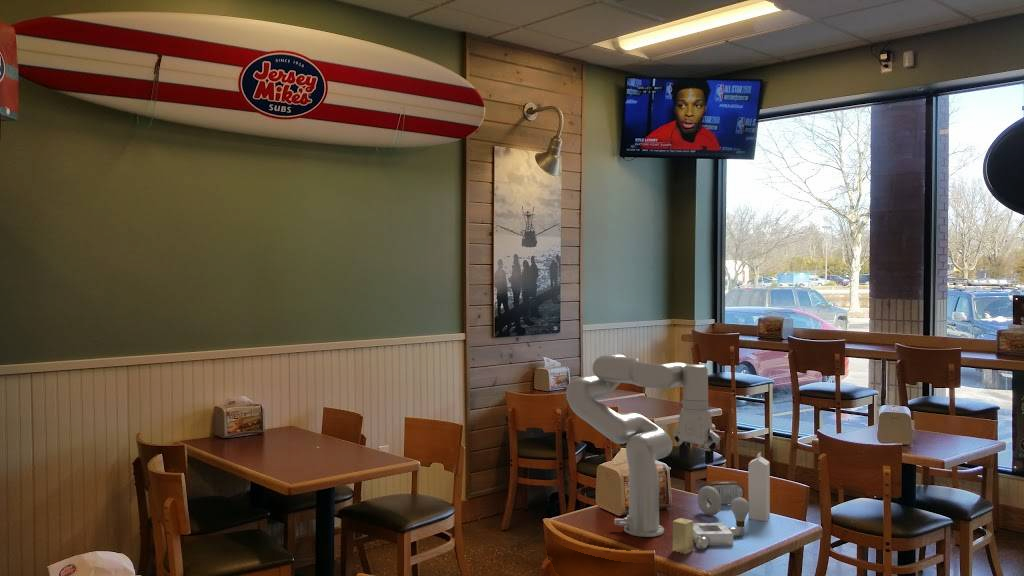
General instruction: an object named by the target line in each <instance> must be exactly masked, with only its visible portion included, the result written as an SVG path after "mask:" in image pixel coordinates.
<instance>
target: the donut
mask: <svg viewBox="0 0 1024 576" xmlns="http://www.w3.org/2000/svg"><path fill="white" fill-rule="evenodd" d="M708 496H709V497H710V499H711V504H710V503H708V501H707V497H708ZM696 499H697V503H698V507H699V509H700V510H701V512H702V513H703V514H705V515H707V516H712V517H713V516H715V515H717V514H718V513H719V512H720V511H721V509H722V508H721V507H722V505H721V498H720V495H719V493H718V491H717V490H716V489H715V488H713V487H711V486H706V485H705V486H703V487H701V488H700V489H699V491H698V494H697V498H696Z"/></svg>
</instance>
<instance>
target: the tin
mask: <svg viewBox="0 0 1024 576" xmlns="http://www.w3.org/2000/svg"><path fill="white" fill-rule="evenodd" d="M705 486H711V487H713V488H715V489H716V490H717V491H718V493H719V495H720V498H721V506H727V505H726V504H731V503H732V501H733V500H734V499H735V498H738V497H741V498H744V497H745V490H744V487H743V486H742V484H740V483H739V482H738V481H736V480H712V481H710V482H708V483H707V484H706V485H705ZM744 499H745V498H744ZM707 501H708V504H709V505H711V499H710V497H709V496H708V497H707Z"/></svg>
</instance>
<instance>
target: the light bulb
mask: <svg viewBox="0 0 1024 576" xmlns="http://www.w3.org/2000/svg"><path fill="white" fill-rule="evenodd" d="M730 510H731V511H732V514H733V515H734V519H735V525H736V526H735V527H742V528H743V529H744V528H745V523H746V518H747V515H749V510H750V506H749V500H747V499H746V498H741V497H738V498H735V499H734V500H733V501H732V503H731V505H730Z"/></svg>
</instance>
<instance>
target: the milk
mask: <svg viewBox="0 0 1024 576" xmlns="http://www.w3.org/2000/svg"><path fill="white" fill-rule="evenodd" d="M770 464H771V462H770V461H769V460H768V459H766V458H764V457H762V452H759V453H758V454H757V455H756V457H755V458H754V459H752V460H751V461H749V463H748V467H747V468H748V479H747V480H748V483H747V484H748V487H747V489H748V491H747V492H748V503H749V506H750V510H749V512H748V520H753V521H760V522H761V521H762V522H768V520H769V519H770V517H771V515H770V514H771V513H770V512H771V510H770V509H771V508H770V506H771V503H770V502H771V501H770V500H771V497H770V496H771V495H770V494H771V493H770V491H771V487H770V485H771V482H770V480H771V479H770V478H771V477H770V476H771V474H770V473H771V472H770V471H771V470H770V468H771V467H770V466H771V465H770ZM768 518H769V519H768Z"/></svg>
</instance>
